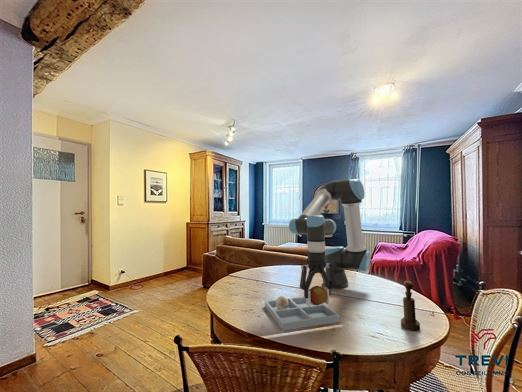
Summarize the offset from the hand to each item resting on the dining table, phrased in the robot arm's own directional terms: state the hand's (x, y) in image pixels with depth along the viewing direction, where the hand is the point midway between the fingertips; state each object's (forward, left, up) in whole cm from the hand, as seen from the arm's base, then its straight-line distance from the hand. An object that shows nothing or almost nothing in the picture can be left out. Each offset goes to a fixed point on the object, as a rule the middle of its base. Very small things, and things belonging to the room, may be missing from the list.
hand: (317, 304), depth 107 cm
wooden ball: (+12, -12, -5) cm, 18 cm away
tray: (+6, -6, -6) cm, 11 cm away
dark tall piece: (-31, +17, -7) cm, 36 cm away
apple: (0, 0, 0) cm, 0 cm away
